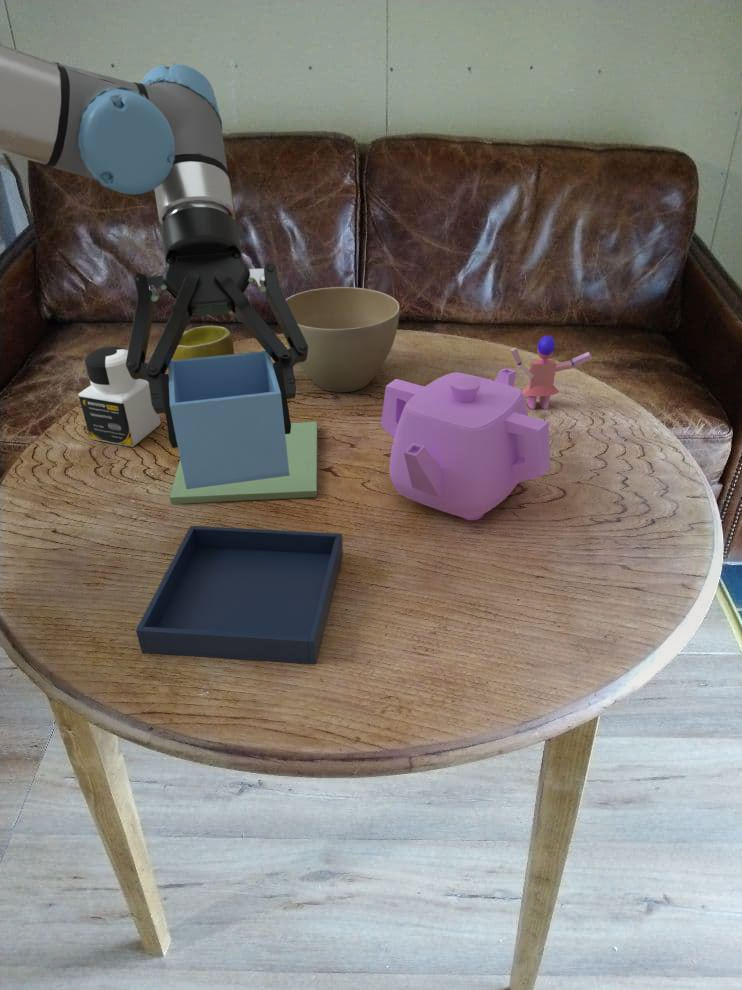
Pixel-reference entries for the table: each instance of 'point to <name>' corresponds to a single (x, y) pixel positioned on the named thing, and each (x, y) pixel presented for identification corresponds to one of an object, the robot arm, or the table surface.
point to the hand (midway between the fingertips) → (231, 437)
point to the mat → (292, 486)
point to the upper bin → (228, 419)
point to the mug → (204, 343)
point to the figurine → (544, 372)
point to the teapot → (462, 441)
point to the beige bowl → (345, 334)
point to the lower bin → (244, 595)
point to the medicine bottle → (116, 400)
